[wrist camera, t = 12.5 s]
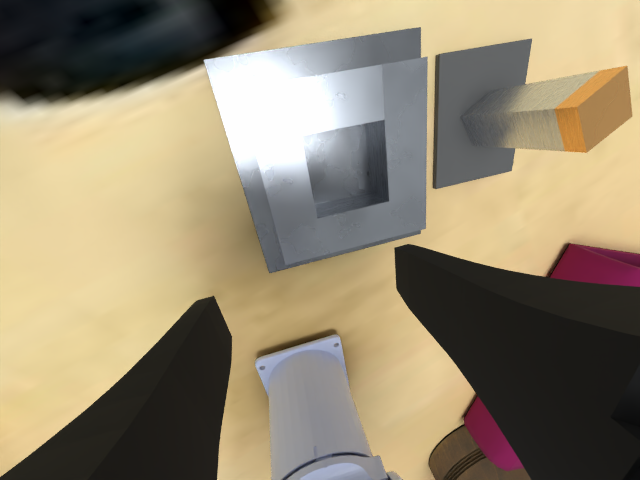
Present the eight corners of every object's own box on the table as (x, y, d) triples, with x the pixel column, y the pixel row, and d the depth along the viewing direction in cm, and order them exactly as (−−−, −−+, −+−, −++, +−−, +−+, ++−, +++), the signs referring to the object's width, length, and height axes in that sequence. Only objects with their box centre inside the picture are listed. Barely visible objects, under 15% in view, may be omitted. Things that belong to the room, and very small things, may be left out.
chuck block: (416, 231, 22) (443, 248, 18) (269, 269, 20) (270, 295, 17) (415, 30, 16) (455, 4, 13) (205, 62, 14) (189, 41, 11)
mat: (507, 170, 21) (511, 170, 21) (433, 188, 20) (436, 188, 20) (526, 40, 17) (532, 38, 17) (436, 55, 17) (439, 53, 16)
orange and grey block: (472, 145, 19) (586, 152, 12) (459, 116, 18) (577, 106, 11) (500, 122, 19) (632, 116, 12) (489, 90, 18) (627, 65, 11)
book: (456, 415, 36) (501, 481, 29) (559, 239, 27) (662, 276, 20) (556, 404, 42) (614, 457, 35) (671, 257, 32) (781, 290, 25)
